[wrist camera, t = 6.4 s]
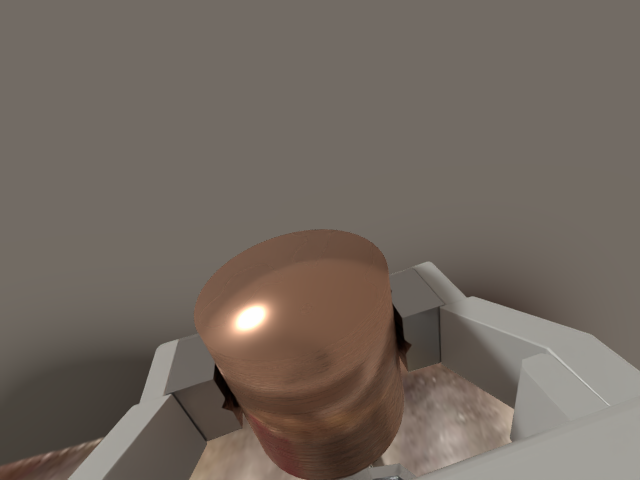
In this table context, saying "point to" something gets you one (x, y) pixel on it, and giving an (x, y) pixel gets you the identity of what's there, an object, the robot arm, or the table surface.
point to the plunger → (309, 350)
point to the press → (391, 473)
